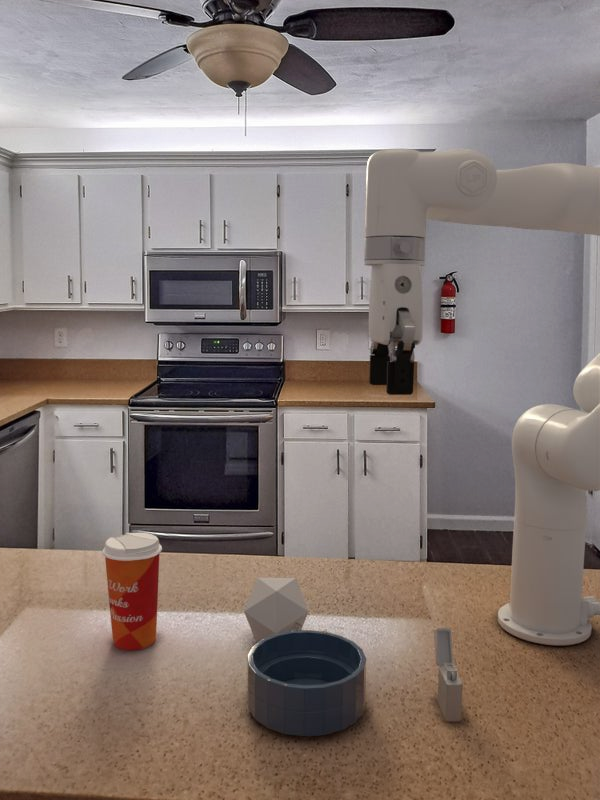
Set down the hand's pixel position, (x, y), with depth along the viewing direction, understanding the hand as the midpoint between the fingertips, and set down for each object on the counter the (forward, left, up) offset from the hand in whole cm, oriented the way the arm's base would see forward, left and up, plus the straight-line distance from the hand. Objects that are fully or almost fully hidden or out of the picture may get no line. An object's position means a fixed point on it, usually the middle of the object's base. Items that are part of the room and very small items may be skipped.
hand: (389, 389), depth 94 cm
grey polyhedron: (+14, -2, -35) cm, 37 cm away
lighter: (-4, +16, -35) cm, 38 cm away
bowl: (+12, +15, -34) cm, 39 cm away
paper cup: (+33, -3, -35) cm, 48 cm away
